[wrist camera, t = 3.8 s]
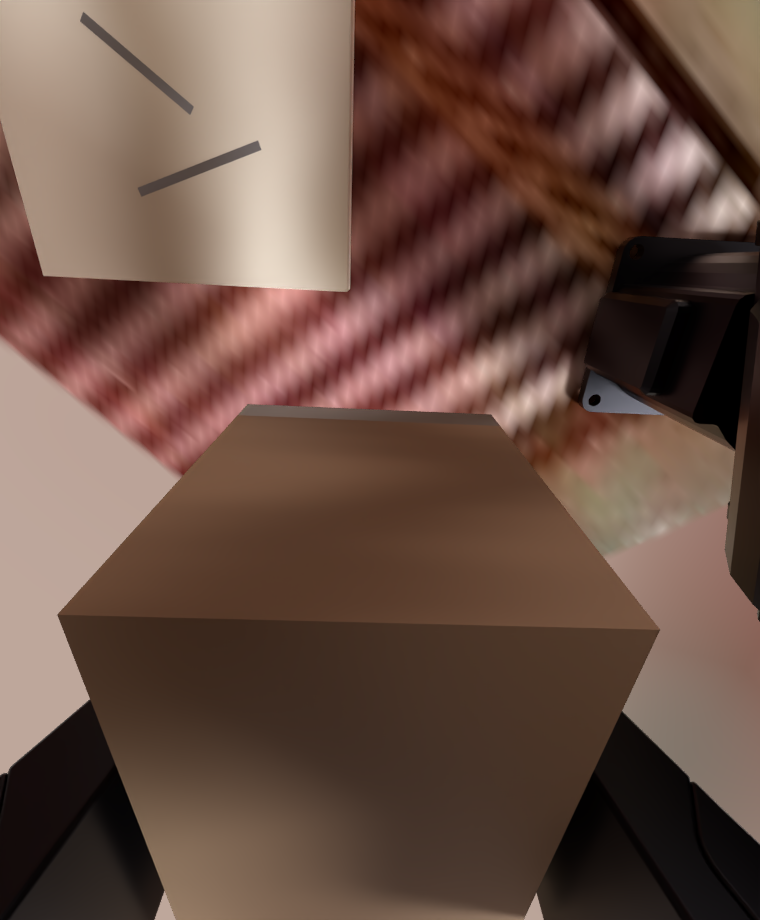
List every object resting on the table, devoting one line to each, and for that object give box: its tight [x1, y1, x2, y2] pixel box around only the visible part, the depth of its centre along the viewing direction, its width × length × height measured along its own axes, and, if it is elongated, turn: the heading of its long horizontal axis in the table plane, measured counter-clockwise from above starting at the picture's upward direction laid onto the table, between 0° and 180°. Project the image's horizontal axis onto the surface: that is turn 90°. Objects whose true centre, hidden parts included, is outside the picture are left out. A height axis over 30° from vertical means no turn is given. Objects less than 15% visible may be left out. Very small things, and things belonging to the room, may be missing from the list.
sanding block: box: [58, 404, 660, 920], centre depth 7 cm, size 4×7×5 cm, turn 177°
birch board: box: [0, 0, 355, 292], centre depth 12 cm, size 10×10×2 cm
